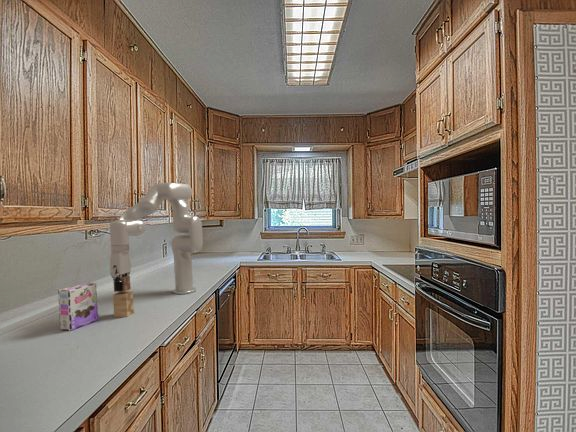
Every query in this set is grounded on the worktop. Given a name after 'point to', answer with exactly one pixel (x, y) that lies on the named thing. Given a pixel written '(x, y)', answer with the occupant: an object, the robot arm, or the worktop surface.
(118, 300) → the tower top
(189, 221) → the robot arm
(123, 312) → the tower base
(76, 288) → the candy box
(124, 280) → the walnut cube
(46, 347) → the worktop surface
